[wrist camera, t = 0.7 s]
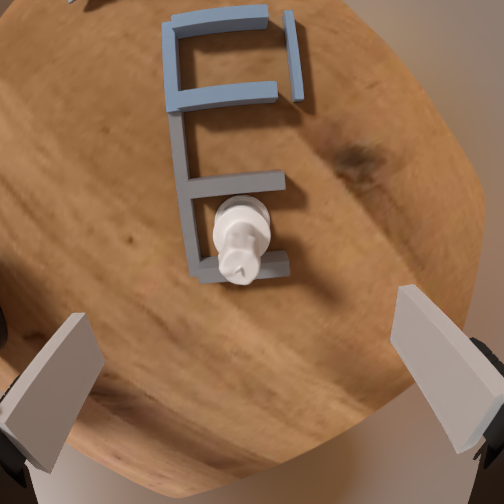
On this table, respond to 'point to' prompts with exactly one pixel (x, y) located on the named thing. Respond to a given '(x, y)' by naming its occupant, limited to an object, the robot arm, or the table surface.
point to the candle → (241, 237)
